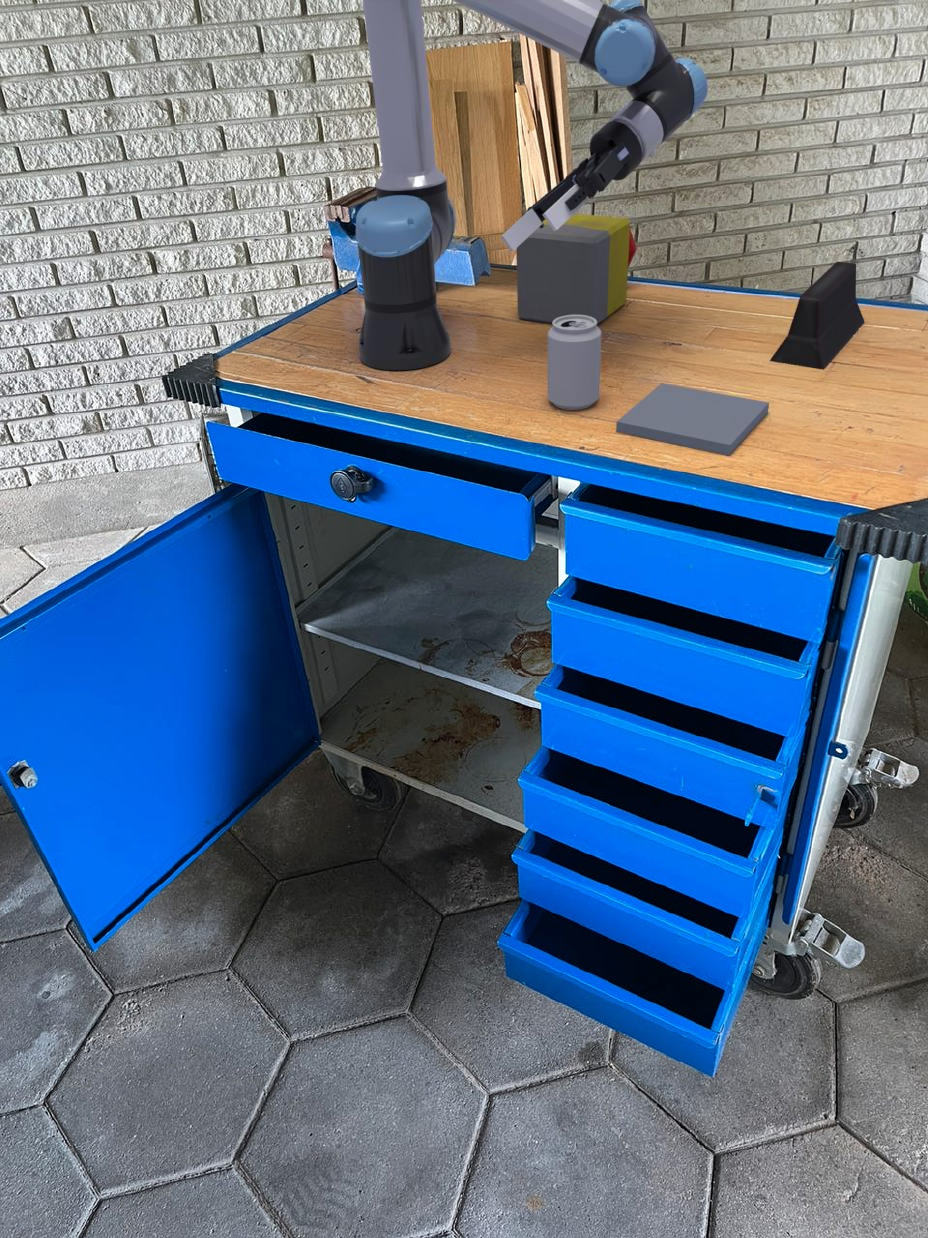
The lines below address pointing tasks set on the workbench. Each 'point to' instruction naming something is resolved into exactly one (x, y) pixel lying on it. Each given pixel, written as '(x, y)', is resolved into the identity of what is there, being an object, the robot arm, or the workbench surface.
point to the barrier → (823, 320)
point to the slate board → (693, 418)
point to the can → (574, 362)
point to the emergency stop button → (574, 268)
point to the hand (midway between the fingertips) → (527, 233)
